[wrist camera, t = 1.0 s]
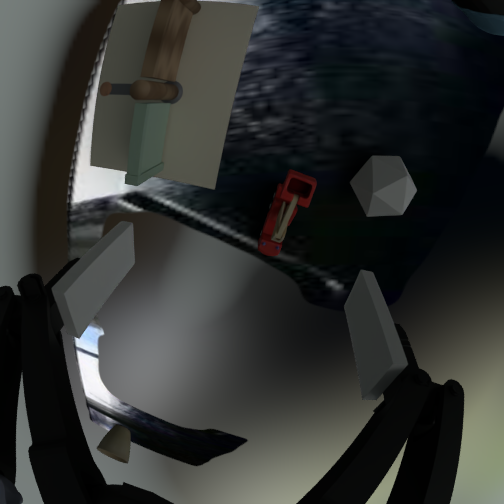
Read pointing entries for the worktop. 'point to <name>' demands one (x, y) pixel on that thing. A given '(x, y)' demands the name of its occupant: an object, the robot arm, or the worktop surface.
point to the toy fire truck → (285, 210)
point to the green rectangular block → (146, 142)
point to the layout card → (188, 82)
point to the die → (383, 186)
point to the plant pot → (116, 444)
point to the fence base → (165, 50)
